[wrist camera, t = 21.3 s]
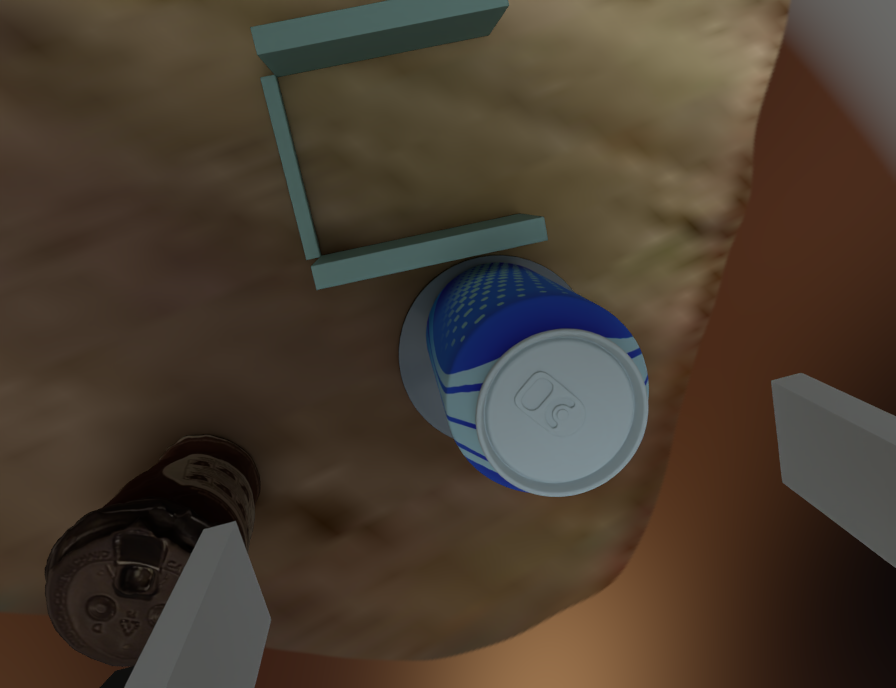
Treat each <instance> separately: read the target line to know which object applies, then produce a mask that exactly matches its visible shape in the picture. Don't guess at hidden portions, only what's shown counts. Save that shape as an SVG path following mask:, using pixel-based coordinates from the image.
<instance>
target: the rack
mask: <svg viewBox="0 0 896 688" xmlns="http://www.w3.org/2000/svg"><path fill="white" fill-rule="evenodd" d="M508 6H509V3H508V0H388V1H383V2H378V3H373V4H368V5H362V6H357V7H352V8H347V9H342V10H337V11H332V12H326V13H321V14H316V15H311V16H306V17H301V18H296V19H290V20H285V21H280V22H275V23H270V24H265V25H260V26H255V27H250V28H251V32H252V36H253V40H254V44H255V48H256V52H257V55H258V56H259V57H260V59H261V60H262V61H263V62H264V63H265V64H266V65H267V66H268V68H269V69H270V70H271V71H272V72H273V73H274V74H275V75H271V76H266V77H261V78H260V79H261V83H262V87H263V91H264V95H265V98H266V102H267V106H268V110H269V114H270V118H271V122H272V126H273V130H274V134H275V138H276V142H277V146H278V150H279V154H280V158H281V162H282V165H283V169H284V173H285V177H286V181H287V185H288V189H289V193H290V197H291V201H292V205H293V209H294V213H295V217H296V221H297V225H298V229H299V232H300V236H301V240H302V244H303V248H304V252H305V256H306V260H308V259H313V258H318V257H320V258H319V259H318V260H317V261H316V262H315V263H314V264H313V265H312V266H311V270H312V274H313V277H314V281H315V285H316V289H317V290H318V289H323V288H328V287H332V286H337V285H342V284H346V283H351V282H356V281H360V280H365V279H369V278H374V277H379V276H383V275H388V274H393V273H397V272H402V271H407V270H411V269H416V268H421V267H425V266H430V265H435V264H439V263H444V262H449V261H453V260H458V259H462V258H467V257H472V256H476V255H481V254H486V253H490V252H495V251H500V250H504V249H509V248H514V247H518V246H523V245H528V244H532V243H537V242H541V241H546V240H548V238H547V232H546V226H545V220H544V217H542V216H535V215H527V214H515V215H511V216H506V217H501V218H496V219H492V220H487V221H482V222H478V223H473V224H468V225H463V226H459V227H454V228H449V229H445V230H440V231H435V232H431V233H426V234H421V235H416V236H412V237H407V238H402V239H398V240H393V241H388V242H384V243H379V244H374V245H369V246H365V247H360V248H355V249H351V250H346V251H341V252H336V253H332V254H327V255H322V256H321V252H320V248H319V244H318V240H317V236H316V232H315V228H314V224H313V220H312V216H311V212H310V208H309V204H308V200H307V196H306V191H305V187H304V183H303V179H302V175H301V171H300V167H299V163H298V159H297V155H296V151H295V147H294V143H293V139H292V135H291V131H290V127H289V123H288V119H287V115H286V111H285V107H284V103H283V99H282V95H281V91H280V87H279V83H278V79H277V77H281V76H286V75H291V74H296V73H301V72H306V71H311V70H316V69H321V68H326V67H331V66H336V65H341V64H346V63H351V62H356V61H361V60H366V59H372V58H377V57H382V56H387V55H392V54H397V53H402V52H407V51H412V50H417V49H422V48H427V47H432V46H437V45H442V44H447V43H452V42H457V41H462V40H467V39H472V38H477V37H482V36H487V35H489V34H490V33H491V31H492V30H493V28H494V27H495V25H496V24H497V22H498V21H499V20H500V18H501V17H502V15H503V14H504V12H505V11H506V9H507V8H508Z"/></svg>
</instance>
